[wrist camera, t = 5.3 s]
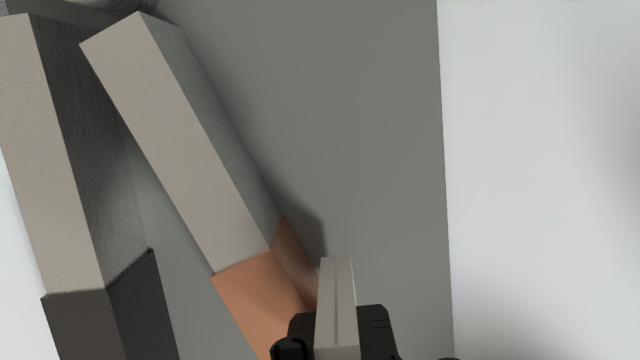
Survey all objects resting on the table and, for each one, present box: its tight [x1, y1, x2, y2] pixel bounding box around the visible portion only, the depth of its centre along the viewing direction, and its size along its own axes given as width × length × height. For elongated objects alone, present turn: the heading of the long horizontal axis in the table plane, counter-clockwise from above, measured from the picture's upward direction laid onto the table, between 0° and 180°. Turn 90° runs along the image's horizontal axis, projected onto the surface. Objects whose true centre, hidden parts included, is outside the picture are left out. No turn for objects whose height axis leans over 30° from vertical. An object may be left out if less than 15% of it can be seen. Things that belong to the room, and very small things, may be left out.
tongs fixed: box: [0, 13, 180, 360], centre depth 16 cm, size 26×7×6 cm, turn 7°
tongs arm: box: [64, 0, 319, 360], centre depth 16 cm, size 22×3×5 cm, turn 26°
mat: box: [5, 0, 454, 360], centre depth 18 cm, size 28×19×1 cm
